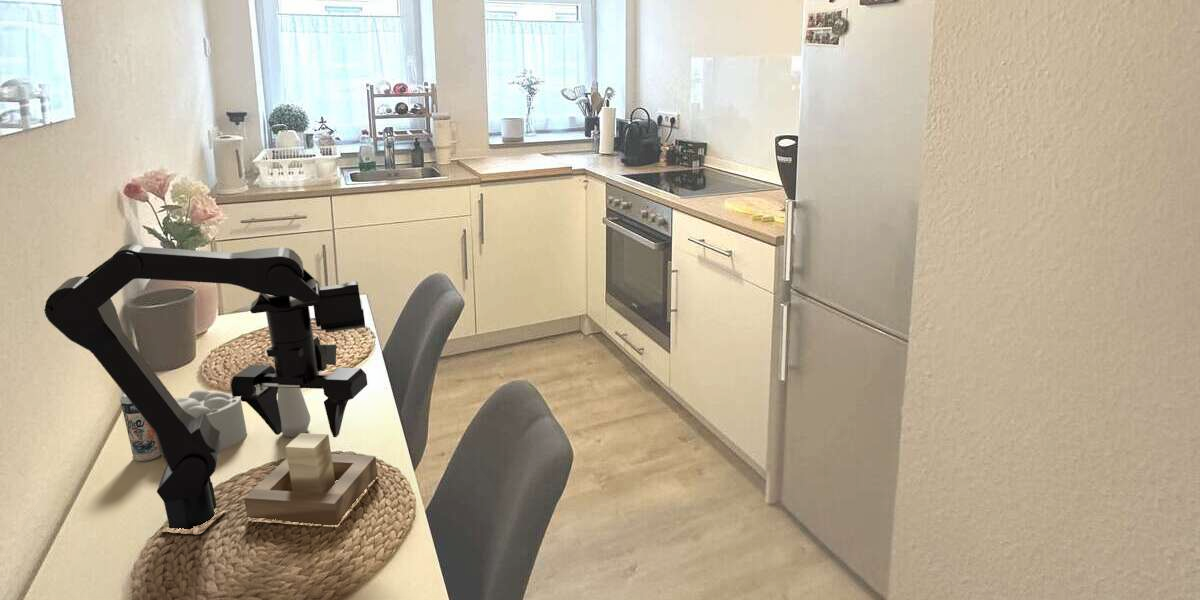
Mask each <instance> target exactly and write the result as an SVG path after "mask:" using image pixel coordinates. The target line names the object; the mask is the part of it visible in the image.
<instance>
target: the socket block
mask: <svg viewBox="0 0 1200 600" xmlns="http://www.w3.org/2000/svg"><path fill="white" fill-rule="evenodd" d="M331 456H332V463H333V470H334V476H335V481H336V480H338V481H337V482H336V483H335V484H334V485H333V486H332V488H331V489H330V490H329V491H328V492H327V493H311V492H295V491H292V485H291V478H290V472H289V466H288V460H287V457H286V458H285V459H284V460H283V461H282V462H281V463H280V464H279V465H278V466H276V468H274V469H273V470H272V471H271V472H270V473H269V474H268V475H267V476H266V477H265V478H264V479H263V480H261V482H259V483H258V484H257V485H255V487H254V488H253V489H252V490H251V491H250V492H249V493H248V494H247V495H245V496H244V497H243V500H244V506H245V512H246V518H247V517H250V518H266V519H274V520H275V519H276V520H282V521H290V522H299V523H302V522H303V523H311V524H312V523H313V524H321V525H338V524H339V522H340V521H341V519H342V517H343V516H344V515H345V513H346V512H347V511H348V509H349V508H350V506H352V504H353V503H354V502H355V501H356V499H357V498H358V497H359V496H360V495H361V494H362V493H363V491H364V490H365V489H366V488H367V487H368V485H369V484H370V483H371V482H372V481H373V480H374V479H375V478H376V477H377V476H378V477H379V475H378V467H377V465H378V464H377V457H376V455H363V454H362V455H360V454H359V455H358V454H345V453H343V454H342V453H331Z"/></svg>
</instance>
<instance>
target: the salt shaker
mask: <svg viewBox="0 0 1200 600" xmlns="http://www.w3.org/2000/svg"><path fill="white" fill-rule="evenodd" d="M275 371H276V369H275ZM277 402H278V407H279V413H280V418H281V427H282V432H281V434H282V435H283V437H284V438H293V439H295V438H296V437H297V436H298V435H299V434H300V433H306V432H307V431H308V429H309V427H310V426H309V425H310V422H311V415H310V411H309V409H308V406H307V404H306V401H305V398H304V395H303V392H302V388H286V387H278V392H277Z"/></svg>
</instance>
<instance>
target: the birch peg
mask: <svg viewBox="0 0 1200 600" xmlns="http://www.w3.org/2000/svg"><path fill="white" fill-rule="evenodd" d="M285 453H286V458H287V460H288V466H289V472H290V478H291V485H292V491H295V492H311V493H327V492H328V491H329V490H330V489H331V488H332V486H333V485H334V484H335V476H334V470H333V463H332V456H331V454H332V451H331V442H330V435H329V434H328V433H326V434H325V433H308V432H307V433H300V434H299V435H298V436H297V437H294V438H293V439H292V440H291V441H290V442H289V443H288V444H287V445H286V446H285Z"/></svg>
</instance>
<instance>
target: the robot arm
mask: <svg viewBox="0 0 1200 600" xmlns="http://www.w3.org/2000/svg"><path fill="white" fill-rule="evenodd" d="M136 279H140V280H141V279H142V280H143V279H144V280H158V281H175V282H189V283H191V282H193V283H207V284H208V283H209V284H225V285H233V286H237V287H240V288H243V289H245V290H248V291H252V292H255V293H259V294H258V297H256V298H255V300H254V301H252V303H251V306H250V310H249V311H250V313H251V314H259V313H265V314H266V320H267V321H266V322H267V325H268V326H267V327H268V333H269V337H270V338H269V339H270V344H271V346H270V347H269V348H267V349H266V353H267V357H273V362H274V367H273V366H272V365H266V364H265V365H263V364H250V365H248V366H247V367H246V368H244V369H242V370H241V371H239V372H238V373H236V374H235V375H233V376H232V378H231V379H230V383H229V387H230V394H232V395H233V396H238V397H239V398H240V399H241V402H245V403H247V404H248V406H250V407H251V408H252V409H253V411H255V412H256V414H257V415H259V417H261V419H262V420H263V421H264V422H265V424H266V425H267V426H268V427H269V428H270V430H271V431H272V432H273V433H274V434H275V435H277V436H278V435H280V434H282V427H281V418H280V413H279V407H278V402H277V400H278V387H286V388H300V389H317V390H318V389H320V390H323V394H324V396H325V397H326V399H325V400H324V401H323V405H324V408H325V413H326V417H327V421H328V425H329V429H330V432H331V434H332V437H333V438H337V437H338V436H339V435H340V432H341V427H342V423H343V418H344V414H345V411H346V408H347V405H348V402H349V401H350V400H353V399H354V398H355V397H356V396H357V395H359V393H360V392H362V391H363V389H364V388H366V387H367V386H368V384H369V383H368V377H367V373H366V372H365V371H364V370H363V369H362V368H361V367H338V368H337V369H336V370H335V371H334V372H332V373H331V374H330V375H328V374H326V375H325V374H324V375H323V374H321V375H320V372H324V371H325V370H327V367H328V366H327V365H331V366H336V364H337V344H327V343H325V344H323V343H322V344H321V342H320V341H321V340H320V338H319V336H314V333H313V327H312V320H311V314H310V307H313V312H314V319H315V325H316V328H318V327H319V328H321V329H320V330H321V331H325V333H327V334H328V333H333V332H338V331H339V332H341V331H347V330H348V331H349V330H355V329H363V328H366V321H365V314H364V307H363V302H362V298H361V295H360V290H359V289H360V287H359V283H358V282H357V280H355V281H354V280H353V281H348V282H345V283H340V284H331V285H324V286H320V283H319V281H318V280H317V279H316V278H315V277H313V276H312V275H311V274H310V273H309V272H308V271H307V270H306V269H305V268H304V264H303V259H302V258H301V256H299V255H298V253H296V252H295V250H293V249H291V248H288V247H285V246H284V247H282V246H279V247H268V248H267V247H266V248H257V249H251V250H246V251H241V252H240V251H239V252H223V251H221V252H220V251H209V250H194V249H181V248H167V247H154V246H142V245H138V244H136V243H135V244H134V243H131V244H130V243H129V244H125V245H123V246H121V247H120V248H119V249H118V250H117V251H115V253H114V254H113V255H112V256H110V258H108V259H107V260H106V261H104V262H103V263H101V264H100V265H98V266H96V268H95V269H93V270H92V271H91V272H89V273H87V275H84V276H74V277H72V278H71V277H70V278H69V279H67V280H66V281H64V282H63V283H62V284H61V285H59V286H58V288H56V289H55V290H54V291H52V293H51V294H50V295H49V296H48V298H47V299H46V301H45V306H44V314H45V317H46V318H47V320H48V321H49V323H50V324H51V326H52V325H53V327H54V328H55V329H57V330H58V331H59V332H60V333H62V334H63V335H64V336H65V337H66V338H67V339H68V340H69V341H71V342H72V343H74V344H76V345H78V346H79V347H82V348H83V349H85V350H87V351H89V352H90V353H91V354H92V355H93V356H94V357H95V359H96V360H97V361H98V362H99V364H101V366H102V367H103V368H104V370H105V371H106V372H107V374H108V375H109V376H110V377H111V378H112V380H113V381H114V383H115V384H116V385H117V387H118V388H119V389H120V390H121V392H122V393H124V394H125V395H126V396H127V397H128V399H129V400H130V401H131V403H132V404H133V405H134V406H135V408H136V409H137V410H138V411H139V413H140V414H141V415H142V416H143V418H144V419H145V420H146V421H147V423H148V424H149V425H150V426H151V428H152V429H153V430H154V431H155V433H156V435H157V437H158V441H159V444H160V447H161V450H162V456H163V458H164V461H165V462H166V463H165V466H164V469H163V472H162V475H161V478H160V481H159V485H158V486H157V489H156V493H157V495H158V496H159V497H160V499H161V500H162V502H163V504H164V509H165V513H166V519H167V523H169V528H178V529H179V528H181V529H182V528H184V529H191V528H193V526H197V525H201V524H203V523H205V522H206V521H208V520H210V519H211V518H212V517H213V516H214V514H215V512H214V509H215V508H217V502H216V500H217V499H216V497H215V496H216V495H215V492H214V491H215V490H214V485H213V482H212V480H211V477H212V475H213V474H214V473H215V471H216V468H217V462H218V459H219V454H220V451H219V450H220V440H219V435H220V431H219V430H217V429H215V428H214V427H213V426H212V425H211V423H210V421H209V419H208V417H207V415H206V414H205V413H202V414H201V415H199V416H198V417H197V418H195V417H193V416H192V415H190V414H188V413H186V412H185V411H184V410H183V409H182V408H181V407H180V405H179V404H178V403H177V401H176V400H175V397H174V396H173V395H172V393H171V392H170V391H169V390H168V388H167V387H166V386H165V384H163V383H164V382H162V381H161V379H160V378H159V377H158V375H157V373H155V371H154V370H153V368H152V367H151V366H150V365H149V363H148V362H147V361H146V360H145V359H144V357H143V356H142V354H141V353H140V352H139V351H138V349H137V348H136V346H135V345H134V343H133V342H132V341H131V340H130V339H129V337H128V336H127V334H125V332H124V330H123V328H122V325H121V321H120V318H119V315H118V312H117V309H116V307H115V304H114V302H113V300H112V297H114V296H115V295H116V294H117V293H118V292H120V291H121V290H122V289H123V288H124V287H125V286H127V285H128V284H129V283H130V282H132V281H133V280H136ZM275 369H276V371H275ZM162 528H163V526H161V528H160V529H162Z"/></svg>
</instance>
